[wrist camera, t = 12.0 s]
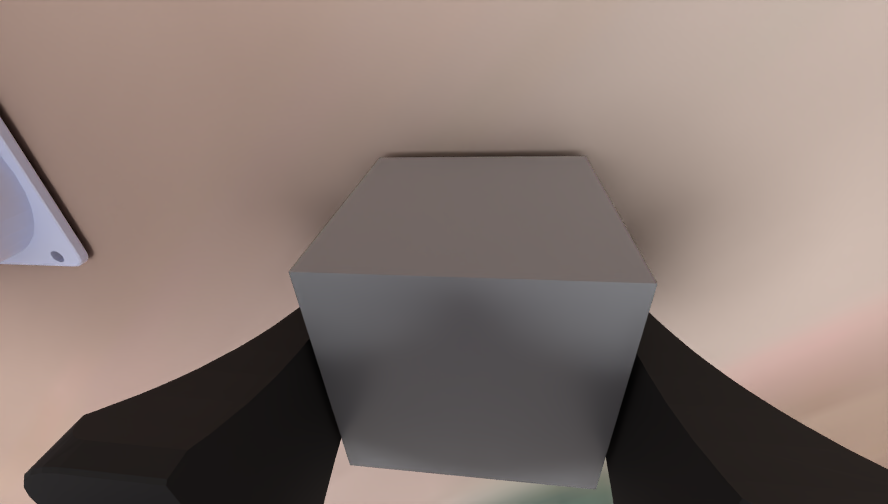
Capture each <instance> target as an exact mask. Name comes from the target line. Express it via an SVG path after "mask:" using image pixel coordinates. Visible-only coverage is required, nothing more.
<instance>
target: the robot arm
mask: <svg viewBox="0 0 888 504" xmlns="http://www.w3.org/2000/svg"><path fill="white" fill-rule="evenodd" d="M87 260H88V254H87V252H86V250H85V249H84V247H83V245H82V244H81V242H80V241H79V239H78V238H77V236H76V234H75V233H74V231H73V230H72V228H71V227H70V225H69V224H68V222H67V220H66V219H65V217H64V216H63V214H62V213H61V211H60V209H59V208H58V206H57V205H56V203H55V202H54V200H53V198H52V197H51V195H50V194H49V192H48V191H47V189H46V187H45V186H44V184H43V183H42V181H41V180H40V178H39V176H38V175H37V173H36V172H35V170H34V169H33V167H32V166H31V164H30V162H29V161H28V159H27V158H26V156H25V155H24V153H23V151H22V150H21V148H20V147H19V145H18V144H17V142H16V140H15V139H14V137H13V136H12V134H11V133H10V131H9V129H8V128H7V126H6V125H5V123H4V122H3V120H2V119H1V117H0V264H16V265H47V266H80V265H82V264H83V263H85V262H86V261H87ZM340 441H341V435H340V432H339V428H338V425H337V422H336V419H335V416H334V413H333V410H332V406H331V403H330V400H329V397H328V394H327V391H326V388H325V384H324V381H323V378H322V375H321V372H320V369H319V366H318V363H317V359H316V356H315V353H314V350H313V347H312V344H311V341H310V337H309V334H308V331H307V328H306V325H305V322H304V319H303V315H302V312H301V309H300V307H299V308H298V309H297V310H295V311H294V312H292V313H291V314H290V315H288V316H287V317H285V318H284V319H283V320H281V321H280V322H279V323H277V324H276V325H274V326H273V327H271V328H270V329H268V330H267V331H265V332H263V333H262V334H260V335H259V336H257V337H255V338H254V339H252V340H250V341H249V342H247V343H245V344H244V345H242V346H240V347H239V348H237V349H235V350H233V351H231V352H229V353H227V354H225V355H224V356H222V357H220V358H218V359H216V360H214V361H212V362H210V363H208V364H206V365H205V366H203V367H201V368H199V369H197V370H194V371H192V372H190V373H188V374H186V375H184V376H182V377H179V378H177V379H175V380H173V381H170V382H168V383H166V384H163V385H161V386H159V387H157V388H154V389H152V390H149V391H147V392H144V393H142V394H140V395H137V396H134V397H132V398H129V399H126V400H124V401H121V402H118V403H116V404H113V405H110V406H108V407H105V408H102V409H100V410H97V411H94V412H91V413H89V414H86V415H84V416H83V417H82V418H81V419H79V420H78V421H77V422H76V423H75V424H74V425H73V426H72V427H71V428H70V429H69V430H68V431H67V432H66V433H65V434H64V435H63V436H62V437H61V438H60V439H59V440H58V441H57V442H56V443H55V444H54V445H53V446H52V447H51V448H50V449H49V450H48V451H47V452H46V453H45V454H44V455H43V456H42V457H41V458H40V459H39V460H38V461H37V462H36V463H35V464H34V465H33V466H32V467H31V468H30V469H29V470H28V471H27V472H26V473H25V474H24V488H25V490H26V492H27V493H28V495H29V496H30V497H31V498H32V499H33V500H34V501H35V502H36V503H37V504H324V500H325V496H326V492H327V488H328V485H329V481H330V477H331V473H332V469H333V466H334V462H335V458H336V455H337V451H338V448H339V444H340ZM606 461H607V466H608V472H609V478H610V484H611V490H612V496H613V503H614V504H888V469H886V468H884V467H882V466H880V465H878V464H876V463H874V462H872V461H870V460H868V459H866V458H864V457H862V456H860V455H858V454H856V453H854V452H852V451H850V450H848V449H847V448H845V447H843V446H841V445H839V444H837V443H836V442H834V441H832V440H830V439H828V438H827V437H825V436H823V435H821V434H819V433H818V432H816V431H814V430H812V429H810V428H809V427H807V426H805V425H803V424H802V423H800V422H798V421H796V420H795V419H793V418H791V417H790V416H788V415H786V414H785V413H783V412H781V411H780V410H778V409H776V408H775V407H773V406H772V405H770V404H768V403H767V402H765V401H764V400H762V399H761V398H759V397H757V396H756V395H754V394H753V393H751V392H750V391H748V390H746V389H745V388H743V387H742V386H741V385H739V384H738V383H736V382H735V381H733V380H732V379H730V378H729V377H727V376H726V375H725V374H723V373H722V372H721V371H719V370H718V369H716V368H715V367H714V366H712V365H711V364H710V363H708V362H707V361H706V360H704V359H703V358H702V357H700V356H699V355H698V354H696V353H695V352H694V351H693V350H691V349H690V348H689V347H688V346H686V345H685V344H684V343H683V342H682V341H681V340H679V339H678V338H677V337H676V336H675V335H673V334H672V333H671V332H670V331H669V330H668V329H667V328H665V327H664V326H663V325H662V324H661V323H660V322H659V321H658V320H657V319H656V318H654V317H653V316H652V315H651V314H650V313H648V316H647V320H646V323H645V327H644V330H643V333H642V337H641V340H640V343H639V347H638V350H637V353H636V357H635V360H634V363H633V367H632V370H631V373H630V377H629V380H628V383H627V387H626V390H625V394H624V397H623V400H622V404H621V407H620V410H619V414H618V417H617V420H616V424H615V427H614V430H613V434H612V437H611V440H610V444H609V447H608V450H607V454H606Z"/></svg>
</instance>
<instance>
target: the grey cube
mask: <svg viewBox="0 0 888 504" xmlns="http://www.w3.org/2000/svg"><path fill="white" fill-rule="evenodd" d="M289 275H290V278H291V281H292V284H293V287H294V290H295V293H296V297H297V300H298V303H299V306H300V309H301V312H302V315H303V319H304V322H305V325H306V328H307V331H308V334H309V337H310V341H311V344H312V347H313V350H314V353H315V356H316V359H317V363H318V366H319V369H320V372H321V375H322V378H323V381H324V384H325V388H326V391H327V394H328V397H329V400H330V403H331V406H332V410H333V413H334V416H335V419H336V422H337V425H338V428H339V432H340V435H341V438H342V441H343V444H344V447H345V450H346V454H347V457H348V460H349V463H350V465H355V466H365V467H375V468H385V469H395V470H405V471H415V472H425V473H436V474H446V475H456V476H466V477H476V478H486V479H496V480H506V481H516V482H527V483H537V484H547V485H557V486H567V487H577V488H587V489H596V487H597V484H598V481H599V477H600V474H601V471H602V467H603V464H604V460H605V457H606V454H607V450H608V447H609V444H610V440H611V437H612V434H613V430H614V427H615V424H616V420H617V417H618V414H619V410H620V407H621V404H622V400H623V397H624V394H625V390H626V387H627V383H628V380H629V377H630V373H631V370H632V367H633V363H634V360H635V357H636V353H637V350H638V347H639V343H640V340H641V337H642V333H643V330H644V327H645V323H646V320H647V316H648V313H649V310H650V306H651V303H652V300H653V296H654V293H655V290H656V286H657V282H656V280H655V279H654V277H653V275H652V273H651V271H650V270H649V268H648V266H647V264H646V262H645V261H644V259H643V257H642V255H641V254H640V252H639V250H638V248H637V246H636V245H635V243H634V241H633V239H632V237H631V236H630V234H629V232H628V230H627V228H626V227H625V225H624V223H623V221H622V220H621V218H620V216H619V214H618V212H617V211H616V209H615V207H614V205H613V203H612V202H611V200H610V198H609V196H608V194H607V193H606V191H605V189H604V187H603V186H602V184H601V182H600V180H599V178H598V177H597V175H596V173H595V171H594V169H593V168H592V166H591V164H590V162H589V160H588V159H587V157H586V156H513V157H395V158H379V159H378V160H377V161H376V163H375V164H374V165H373V166H372V168H371V169H370V170H369V171H368V173H367V174H366V175H365V176H364V178H363V179H362V180H361V181H360V183H359V184H358V185H357V186H356V188H355V189H354V190H353V191H352V193H351V194H350V195H349V197H348V198H347V199H346V200H345V202H344V203H343V204H342V205H341V207H340V208H339V209H338V210H337V212H336V213H335V214H334V215H333V217H332V218H331V219H330V220H329V222H328V223H327V224H326V225H325V227H324V228H323V229H322V230H321V232H320V233H319V234H318V236H317V237H316V238H315V239H314V241H313V242H312V243H311V244H310V246H309V247H308V248H307V249H306V251H305V252H304V253H303V254H302V256H301V257H300V258H299V259H298V261H297V262H296V263H295V264H294V266H293V267H292V268H291V269H290V271H289Z"/></svg>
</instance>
